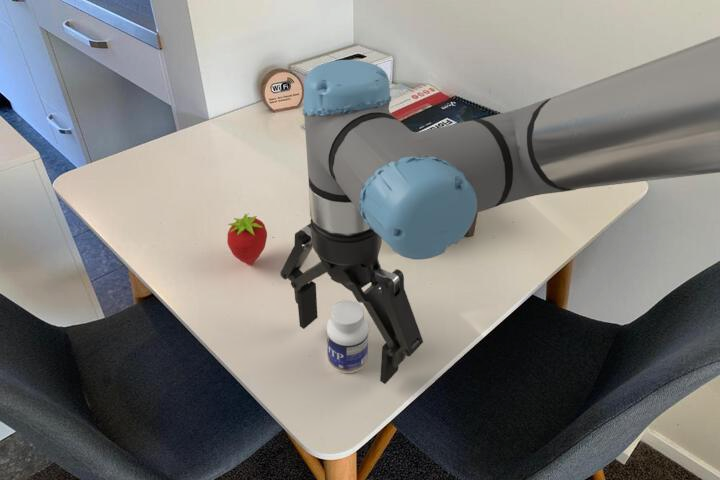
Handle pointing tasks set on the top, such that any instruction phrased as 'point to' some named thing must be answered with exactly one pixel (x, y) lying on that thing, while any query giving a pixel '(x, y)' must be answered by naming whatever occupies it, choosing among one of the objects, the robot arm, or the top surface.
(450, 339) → the top surface
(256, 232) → the strawberry
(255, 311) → the top surface
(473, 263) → the top surface
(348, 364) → the pill bottle
